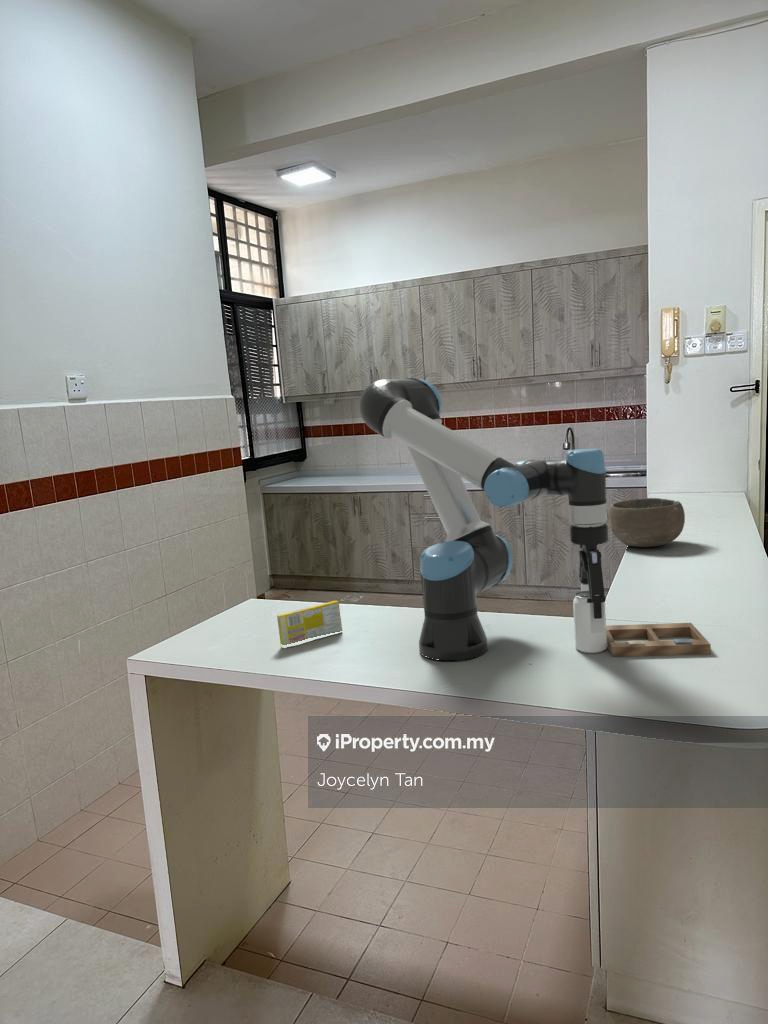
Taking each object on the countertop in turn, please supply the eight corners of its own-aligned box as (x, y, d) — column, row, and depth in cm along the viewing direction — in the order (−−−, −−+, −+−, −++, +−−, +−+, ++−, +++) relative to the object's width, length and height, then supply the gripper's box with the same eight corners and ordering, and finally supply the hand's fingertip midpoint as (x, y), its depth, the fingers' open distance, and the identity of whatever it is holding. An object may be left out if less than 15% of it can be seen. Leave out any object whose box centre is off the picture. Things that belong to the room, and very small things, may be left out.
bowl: (622, 537, 259) (621, 497, 257) (692, 539, 245) (691, 497, 243) (600, 550, 240) (598, 507, 238) (675, 554, 226) (673, 508, 224)
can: (608, 654, 145) (606, 598, 144) (576, 654, 147) (573, 598, 145) (605, 643, 152) (603, 589, 150) (574, 643, 153) (572, 590, 151)
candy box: (339, 631, 176) (335, 599, 175) (343, 633, 175) (340, 601, 173) (280, 647, 168) (276, 614, 167) (283, 649, 166) (280, 616, 165)
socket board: (612, 656, 144) (612, 645, 143) (602, 634, 157) (601, 624, 157) (710, 653, 141) (710, 642, 140) (691, 631, 154) (690, 620, 154)
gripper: (618, 533, 132) (622, 641, 136) (598, 513, 157) (602, 604, 160) (577, 536, 134) (582, 642, 137) (563, 515, 158) (568, 606, 161)
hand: (592, 622), depth 148 cm, fingers open, 13 cm apart
